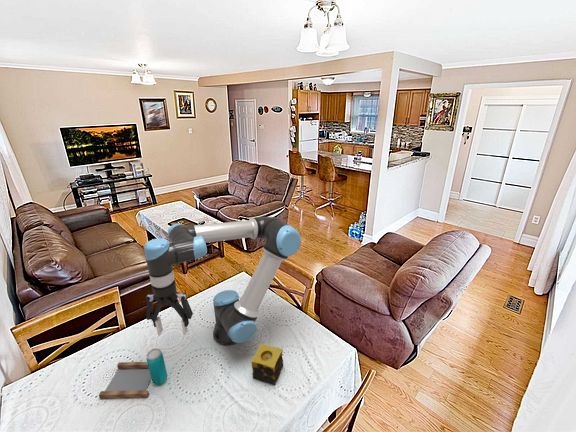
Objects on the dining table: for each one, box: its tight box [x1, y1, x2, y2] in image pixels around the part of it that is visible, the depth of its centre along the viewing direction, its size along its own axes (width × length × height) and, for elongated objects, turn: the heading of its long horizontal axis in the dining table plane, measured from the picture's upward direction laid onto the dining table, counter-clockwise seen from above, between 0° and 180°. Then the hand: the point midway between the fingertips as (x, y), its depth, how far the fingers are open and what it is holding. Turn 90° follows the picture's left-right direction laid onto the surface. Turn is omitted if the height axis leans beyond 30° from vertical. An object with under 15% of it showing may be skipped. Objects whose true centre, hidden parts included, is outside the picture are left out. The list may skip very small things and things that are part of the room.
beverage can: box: [146, 347, 168, 387], centre depth 112 cm, size 6×6×15 cm
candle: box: [251, 343, 284, 386], centre depth 117 cm, size 10×10×10 cm
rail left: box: [98, 389, 150, 400], centre depth 109 cm, size 18×2×2 cm, turn 91°
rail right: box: [116, 361, 149, 370], centre depth 121 cm, size 18×2×2 cm, turn 91°
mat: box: [104, 369, 152, 391], centre depth 115 cm, size 16×11×1 cm
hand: (173, 332), depth 106 cm, fingers open, 9 cm apart
